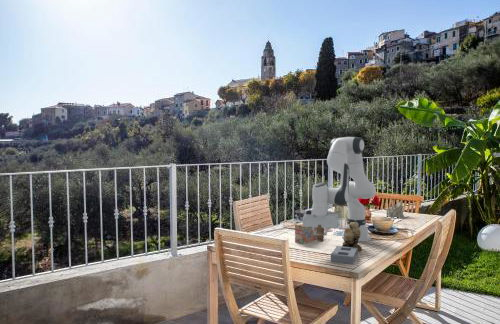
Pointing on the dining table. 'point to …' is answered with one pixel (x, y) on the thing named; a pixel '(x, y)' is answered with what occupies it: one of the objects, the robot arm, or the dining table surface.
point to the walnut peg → (320, 233)
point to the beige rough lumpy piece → (352, 236)
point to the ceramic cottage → (395, 210)
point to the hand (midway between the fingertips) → (320, 235)
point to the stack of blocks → (304, 234)
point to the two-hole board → (344, 255)
